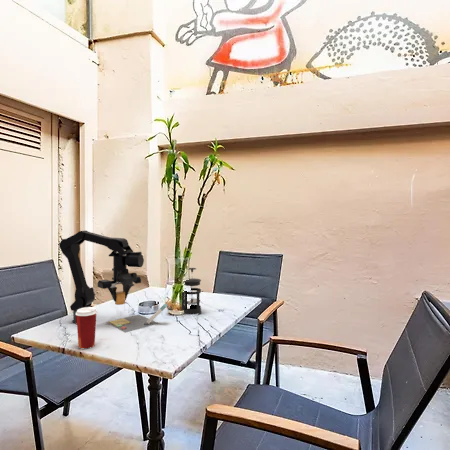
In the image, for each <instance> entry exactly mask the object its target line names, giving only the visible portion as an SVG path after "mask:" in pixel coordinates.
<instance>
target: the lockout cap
mask: <svg viewBox="0 0 450 450" xmlns="http://www.w3.org/2000/svg"><path fill="white" fill-rule="evenodd" d="M125 304H126V300H125V292H124V291H123V290H122V291H121V290H120V291H116V302H114V305H117V306H118V305H119V306H120V305H125Z"/></svg>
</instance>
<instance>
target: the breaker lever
mask: <svg viewBox="0 0 450 450" xmlns="http://www.w3.org/2000/svg"><path fill="white" fill-rule="evenodd" d="M168 306H169V305H168V304H167V303H164V304H163V305H161V307H159V309H158V310H156V312H154V313H153V315H152V316H151V317H149V318H148V319H149V320H148V321H146V322H147V323H148V324H149V323H150V322H151V321H152V320H153V321H154V320H155V319H156V318H157V316H159V315H160V314H161V313H162V312H163V311H164V310H165V309H167V307H168Z"/></svg>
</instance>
